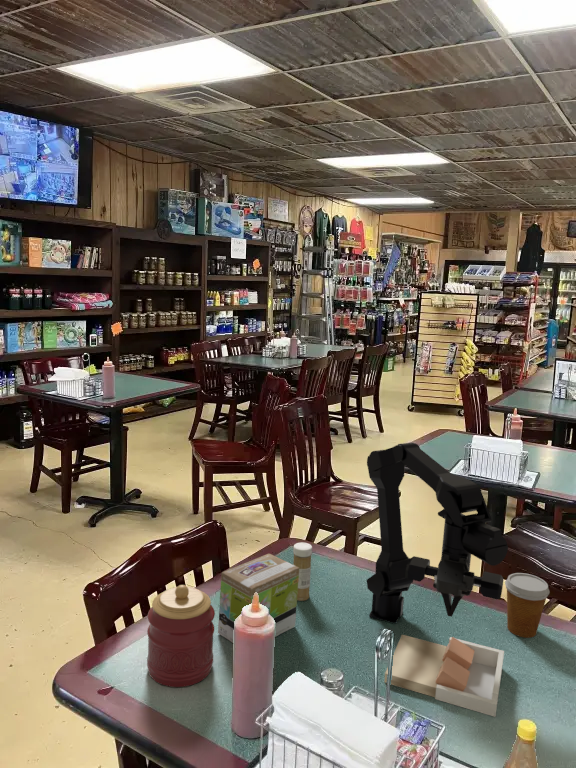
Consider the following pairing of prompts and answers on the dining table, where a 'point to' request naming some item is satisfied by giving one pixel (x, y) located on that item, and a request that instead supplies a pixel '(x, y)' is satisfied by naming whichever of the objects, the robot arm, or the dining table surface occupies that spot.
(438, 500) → the robot arm
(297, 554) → the sprinkles bottle
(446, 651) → the tile back
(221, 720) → the dining table surface
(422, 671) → the birch plate
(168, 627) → the canister
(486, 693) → the bin
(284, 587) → the tea box
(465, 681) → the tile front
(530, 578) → the disposable coffee cup
